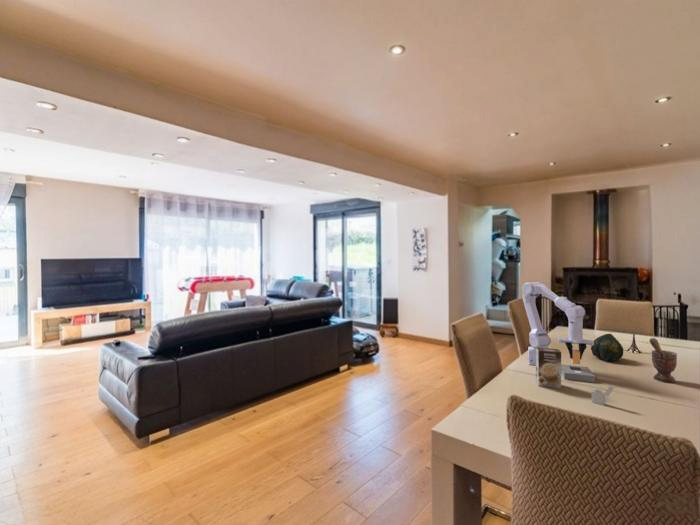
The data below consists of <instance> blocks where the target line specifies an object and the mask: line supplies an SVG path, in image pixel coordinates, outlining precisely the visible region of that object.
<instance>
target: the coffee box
mask: <svg viewBox="0 0 700 525" xmlns="http://www.w3.org/2000/svg"><path fill="white" fill-rule="evenodd" d="M561 364H562V351H561V350H560V349H558V348H551V347H548V348H539V347H536V365H535V383H536V384H537V387H546V388H554V389H562V373H561Z"/></svg>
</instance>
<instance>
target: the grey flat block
mask: <svg viewBox="0 0 700 525" xmlns="http://www.w3.org/2000/svg"><path fill="white" fill-rule="evenodd" d="M595 375H596V374H594V373H593V372H592V370H591V369H590V367H589V366H582V365H581V366H580V365H572V364H571V365H570V364H562V363H561V376H562V377H563V379H564V380H567V379H569V380H568V381H576V380H579V381H578V382H585V381H586V383H594V382H595V383H596V376H595Z"/></svg>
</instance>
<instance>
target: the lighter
mask: <svg viewBox="0 0 700 525" xmlns="http://www.w3.org/2000/svg"><path fill="white" fill-rule="evenodd" d="M614 388H615V386H613V385H612V384H610V386H608V388H607V390H606V391H605V392H603V391H602V389H598V388H595V389H594V390H591V403H594V404H597V403H598V405H601V404H602V405H601V406H605V405H606V396H607V397H609V396H610V395H611V393H612V392H613V390H614Z"/></svg>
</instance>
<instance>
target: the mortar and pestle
mask: <svg viewBox="0 0 700 525" xmlns="http://www.w3.org/2000/svg"><path fill="white" fill-rule="evenodd" d="M649 343H650V345H651V346H652V348H653V349H654V350H651V362H652V365H653V368H654V369H656V371H657V373H656V374H654V376H653V379H654V380H656V381H658V382H662V383H670V384H671V383H673V384H674V383H676V379H675V377H674V376H673V375H672V373H673V372H674V371H675V369H677V368H676V367H677V364H678V363H677V361H678V360H677V357H678V353H677V352H675V351H670V350H666V349H665V350H664V349H662V348H661V345H660V343H659V341H658V339H657V338H654V337H651V338H650V339H649Z"/></svg>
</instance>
